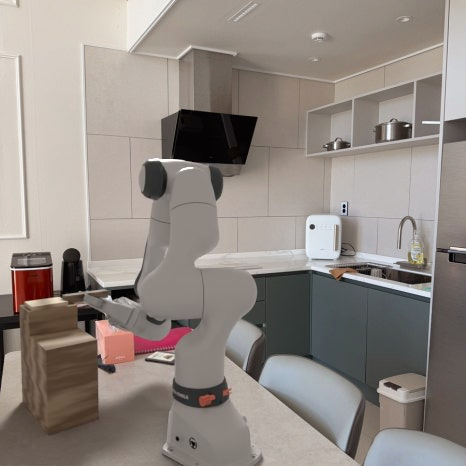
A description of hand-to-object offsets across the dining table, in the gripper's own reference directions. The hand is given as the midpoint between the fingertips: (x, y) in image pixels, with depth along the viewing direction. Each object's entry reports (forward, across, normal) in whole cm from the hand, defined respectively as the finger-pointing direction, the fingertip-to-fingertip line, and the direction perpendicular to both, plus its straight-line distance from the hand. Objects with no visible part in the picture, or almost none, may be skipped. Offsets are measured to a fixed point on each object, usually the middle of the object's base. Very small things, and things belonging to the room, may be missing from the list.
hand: (81, 295), depth 123 cm
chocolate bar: (-43, -5, +8) cm, 44 cm away
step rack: (-6, +6, +28) cm, 30 cm away
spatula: (+2, 0, +3) cm, 4 cm away
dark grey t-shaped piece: (-24, -15, +19) cm, 34 cm away
